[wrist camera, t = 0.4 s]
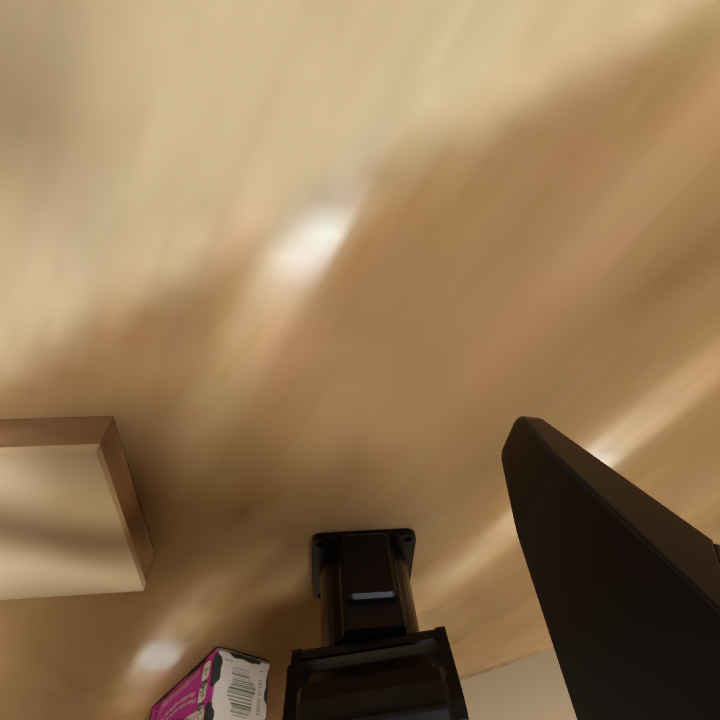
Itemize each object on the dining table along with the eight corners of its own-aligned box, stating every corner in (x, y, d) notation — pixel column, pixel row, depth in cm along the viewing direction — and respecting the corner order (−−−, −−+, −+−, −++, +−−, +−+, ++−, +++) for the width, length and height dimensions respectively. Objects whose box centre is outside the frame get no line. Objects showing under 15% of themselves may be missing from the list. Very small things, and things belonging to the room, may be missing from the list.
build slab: (154, 553, 32) (144, 590, 30) (-36, 564, 31) (-61, 603, 28) (112, 416, 26) (95, 451, 23) (-127, 423, 24) (-166, 461, 22)
